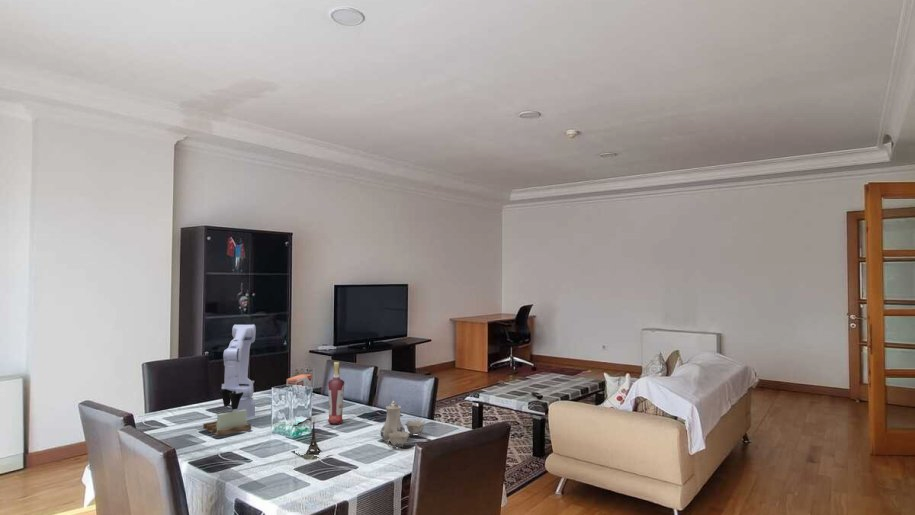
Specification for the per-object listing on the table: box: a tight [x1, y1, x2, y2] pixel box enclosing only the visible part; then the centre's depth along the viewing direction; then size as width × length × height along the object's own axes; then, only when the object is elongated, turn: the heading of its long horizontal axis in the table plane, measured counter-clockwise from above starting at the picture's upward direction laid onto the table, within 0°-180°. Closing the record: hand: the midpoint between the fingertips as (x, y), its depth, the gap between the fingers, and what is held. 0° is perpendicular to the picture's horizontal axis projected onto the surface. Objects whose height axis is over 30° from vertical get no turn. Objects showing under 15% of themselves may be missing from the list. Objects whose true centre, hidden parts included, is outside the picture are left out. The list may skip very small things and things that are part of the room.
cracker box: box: [285, 373, 313, 388], centre depth 247 cm, size 14×6×21 cm, turn 168°
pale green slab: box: [216, 409, 248, 434], centre depth 229 cm, size 12×2×8 cm, turn 137°
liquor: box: [327, 361, 345, 425], centre depth 246 cm, size 7×7×28 cm
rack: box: [202, 420, 252, 437], centre depth 232 cm, size 14×16×3 cm
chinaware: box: [380, 399, 426, 448], centre depth 221 cm, size 28×17×17 cm, turn 167°
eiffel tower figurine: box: [290, 421, 322, 461], centre depth 203 cm, size 15×10×13 cm
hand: (230, 407), depth 230 cm, fingers open, 7 cm apart
